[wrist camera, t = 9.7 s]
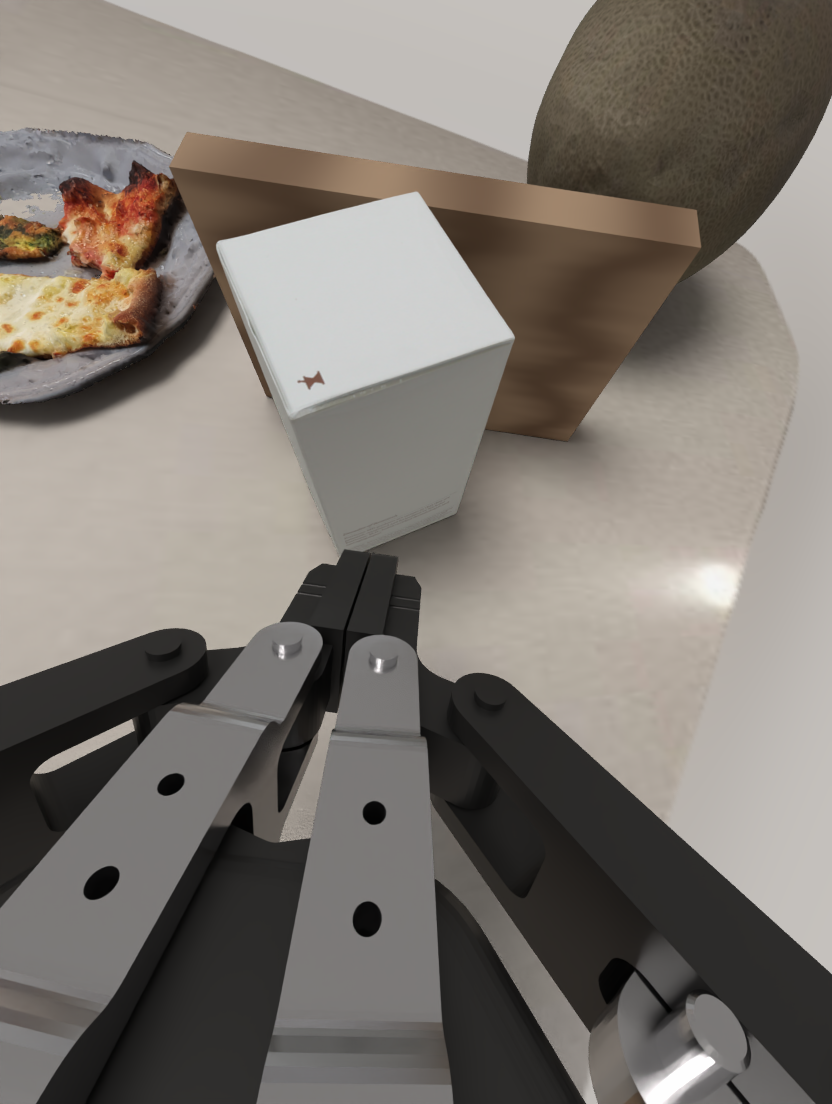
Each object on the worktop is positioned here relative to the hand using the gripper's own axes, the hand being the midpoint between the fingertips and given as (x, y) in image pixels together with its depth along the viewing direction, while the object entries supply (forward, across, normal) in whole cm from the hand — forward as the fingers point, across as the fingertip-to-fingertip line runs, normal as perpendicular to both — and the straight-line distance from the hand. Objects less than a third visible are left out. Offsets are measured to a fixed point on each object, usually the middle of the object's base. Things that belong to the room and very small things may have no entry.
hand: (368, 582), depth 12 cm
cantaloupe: (+27, -11, -12) cm, 31 cm away
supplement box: (+14, +2, +2) cm, 14 cm away
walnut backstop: (+18, 0, -3) cm, 18 cm away
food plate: (+23, +26, -7) cm, 35 cm away
